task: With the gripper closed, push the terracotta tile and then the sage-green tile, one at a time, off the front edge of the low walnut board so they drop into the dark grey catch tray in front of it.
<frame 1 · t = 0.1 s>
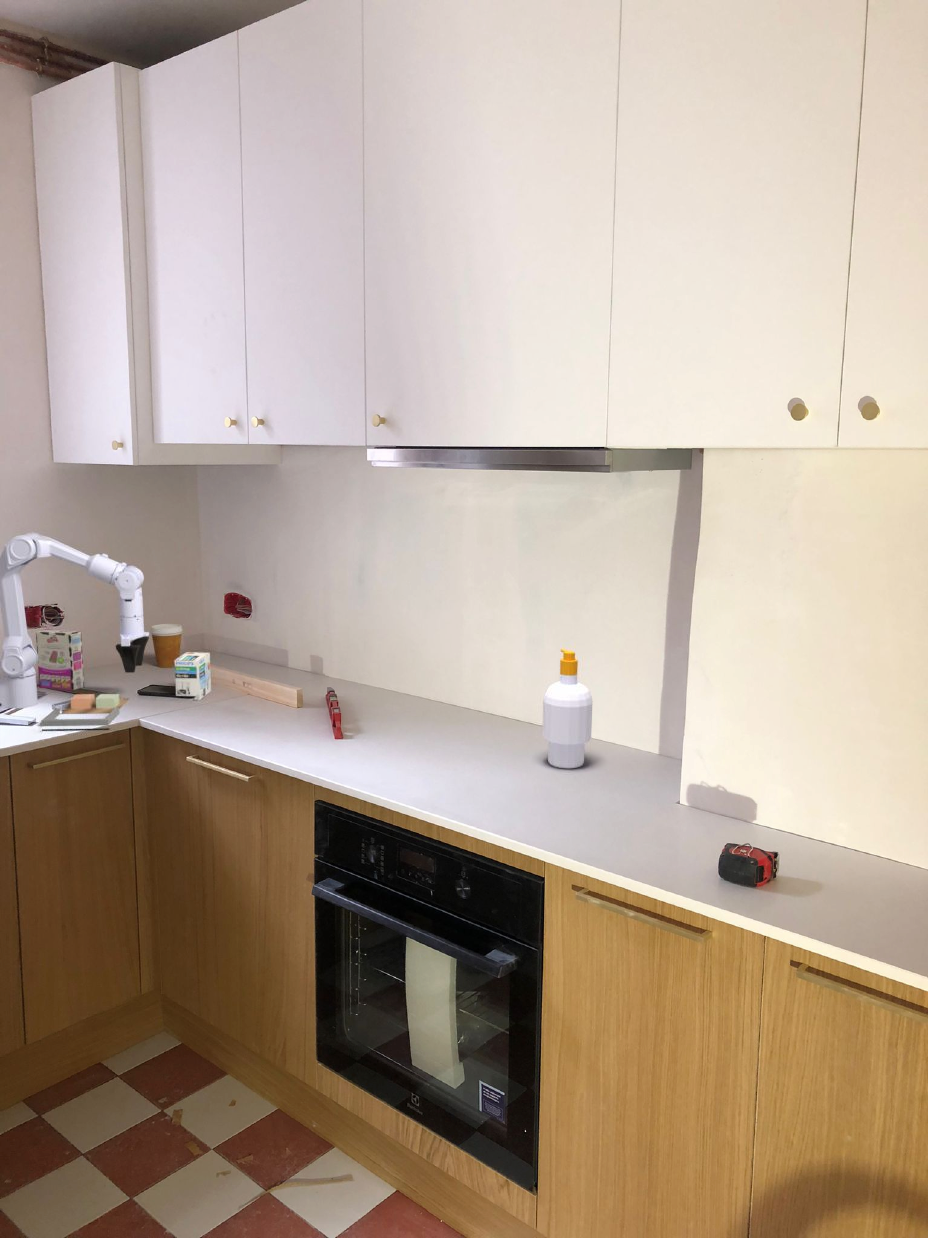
hand: (133, 668, 247), 10 cm above the worktop, tool pointing down, fingers open, 7 cm apart
disposable coffee cup: (168, 666, 296), on the worktop
sage-green tile: (107, 705, 245), point 1 cm above the worktop, touching walnut board
light bulb box: (193, 696, 261), on the worktop
walnut board: (96, 710, 245), on the worktop
candy bar box: (62, 691, 264), on the worktop
catch tray: (82, 723, 233), on the worktop
soap bottle: (565, 764, 208), on the worktop
terracotta tile: (83, 706, 244), point 1 cm above the worktop, touching walnut board
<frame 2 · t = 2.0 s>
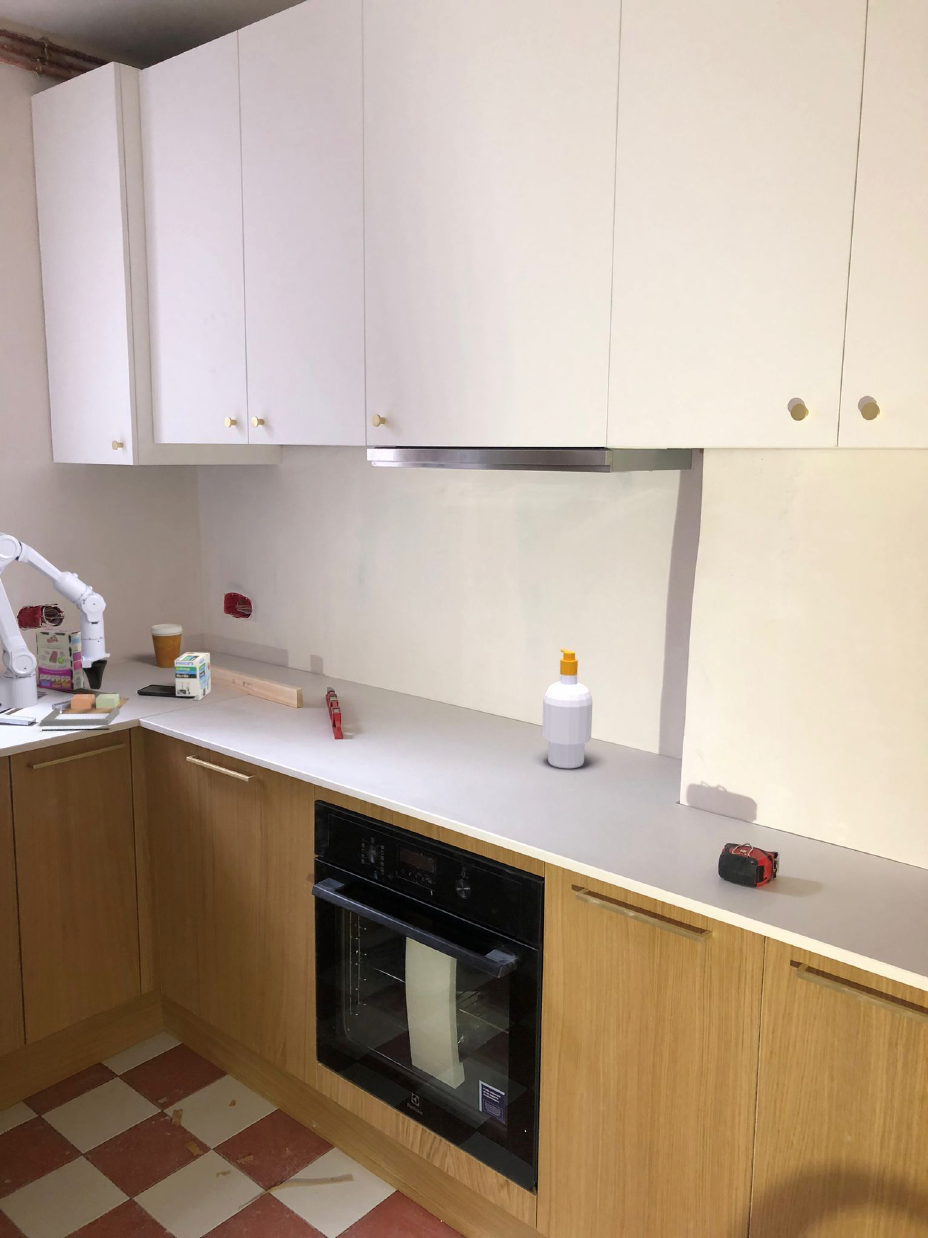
hand: (95, 688, 255), 3 cm above the worktop, tool pointing down, fingers closed
nothing on the worktop moved.
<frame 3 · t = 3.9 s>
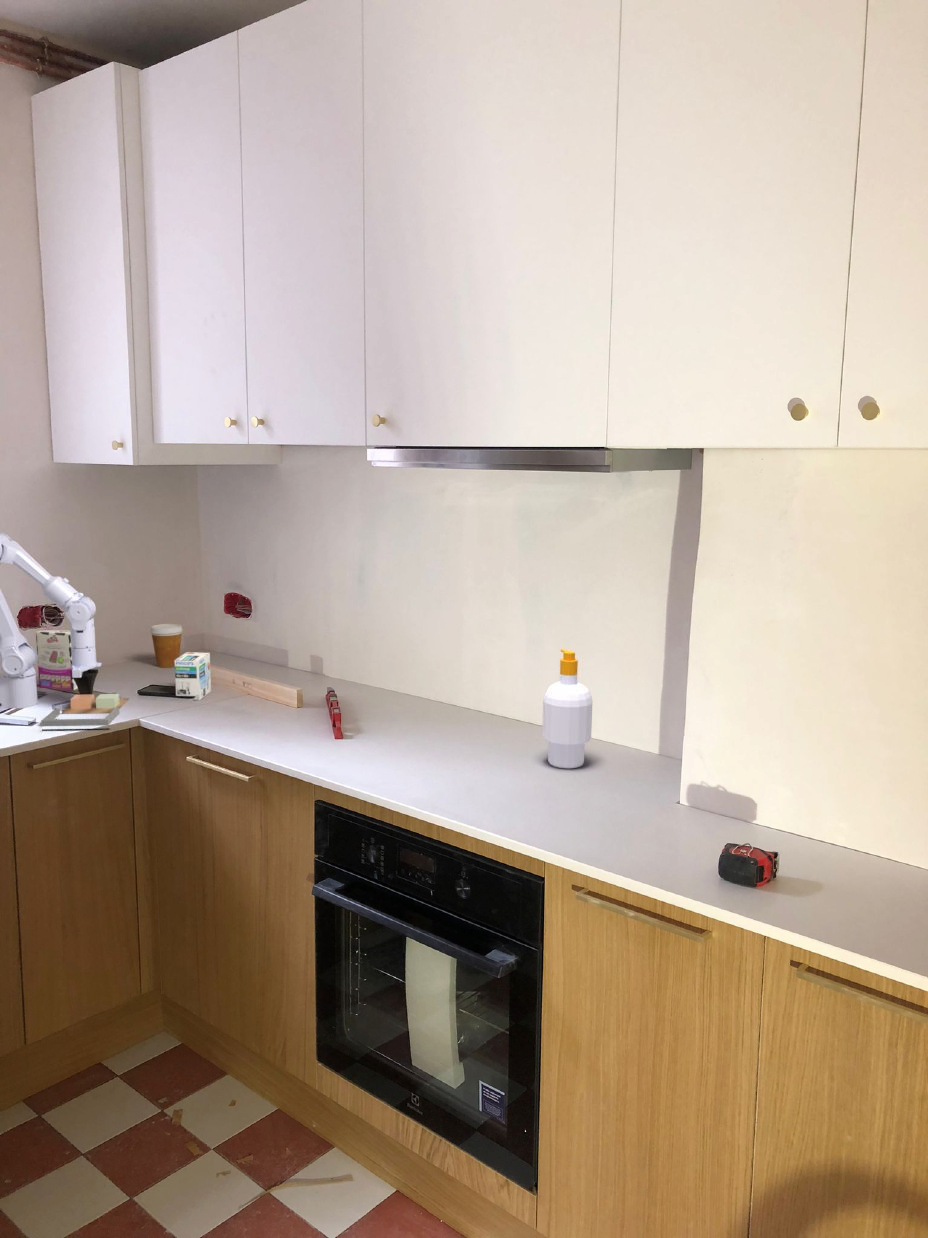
hand: (86, 699, 247), 2 cm above the worktop, tool pointing down, fingers closed
terracotta tile: (83, 706, 244), point 1 cm above the worktop, touching gripper, walnut board
everything else where it was.
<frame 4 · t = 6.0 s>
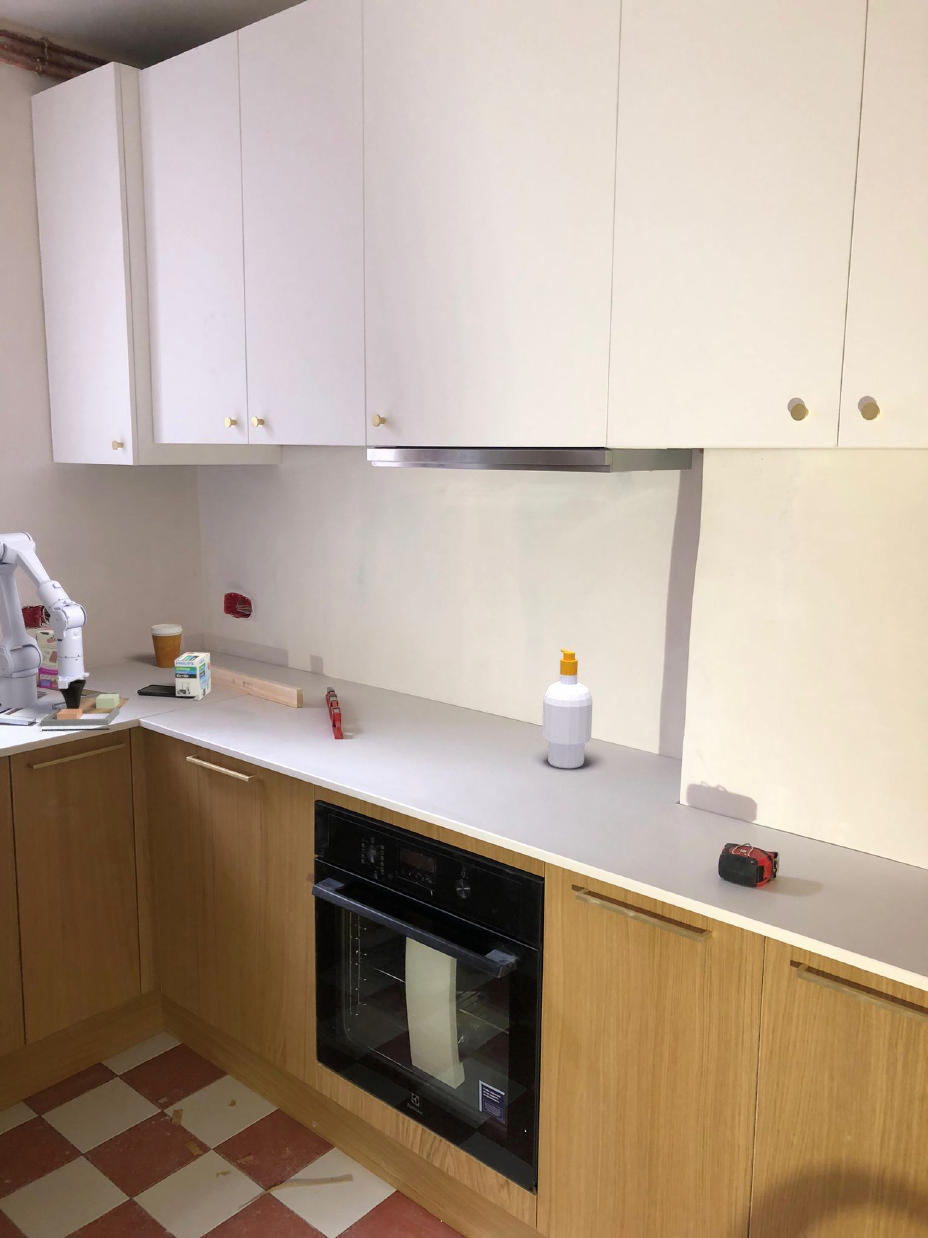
hand: (73, 710, 236), 2 cm above the worktop, tool pointing down, fingers closed
terracotta tile: (70, 721, 234), resting on catch tray, touching gripper
everything else where it was.
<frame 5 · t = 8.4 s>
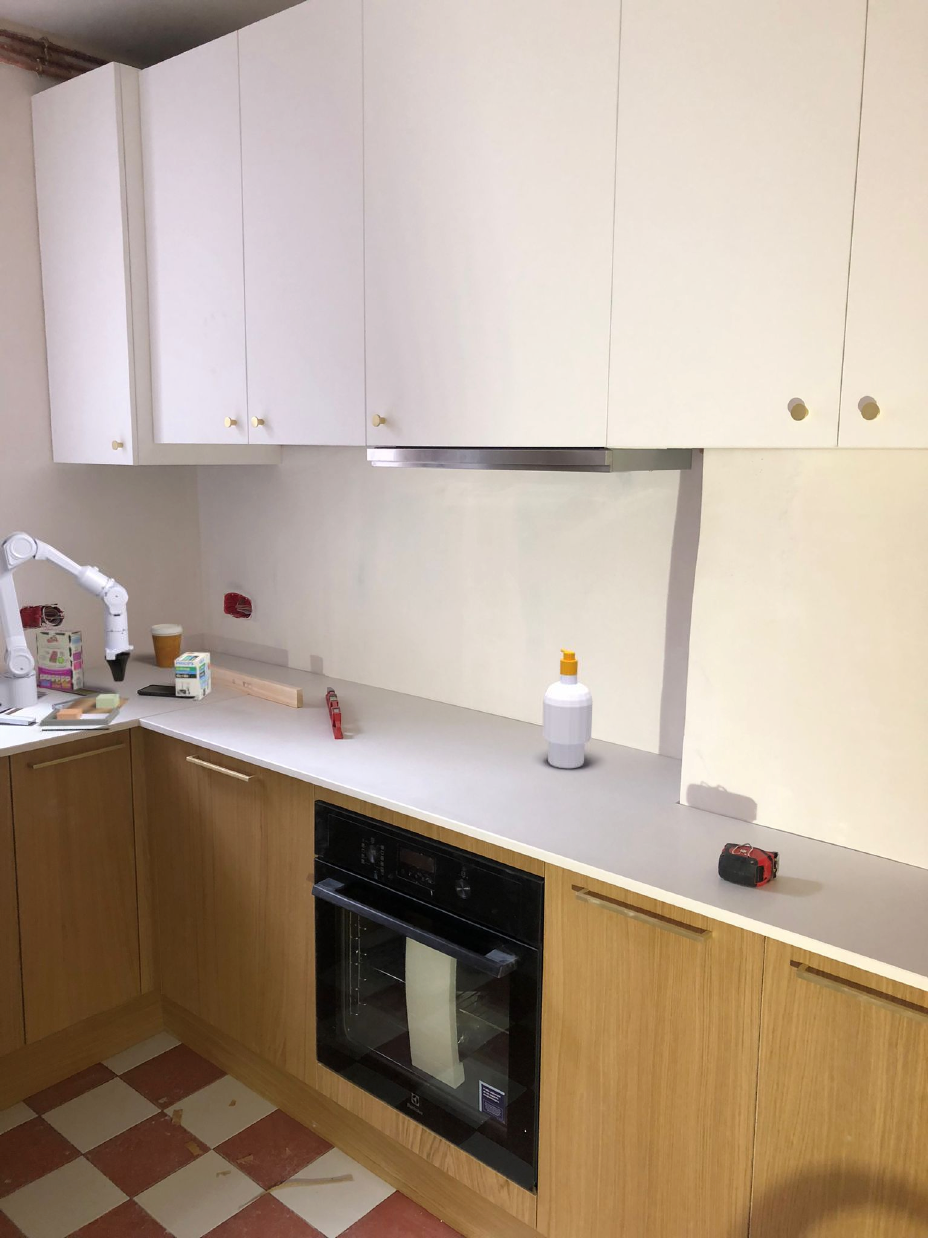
hand: (119, 681, 255), 5 cm above the worktop, tool pointing down, fingers closed
terracotta tile: (70, 721, 233), resting on catch tray
everything else where it was.
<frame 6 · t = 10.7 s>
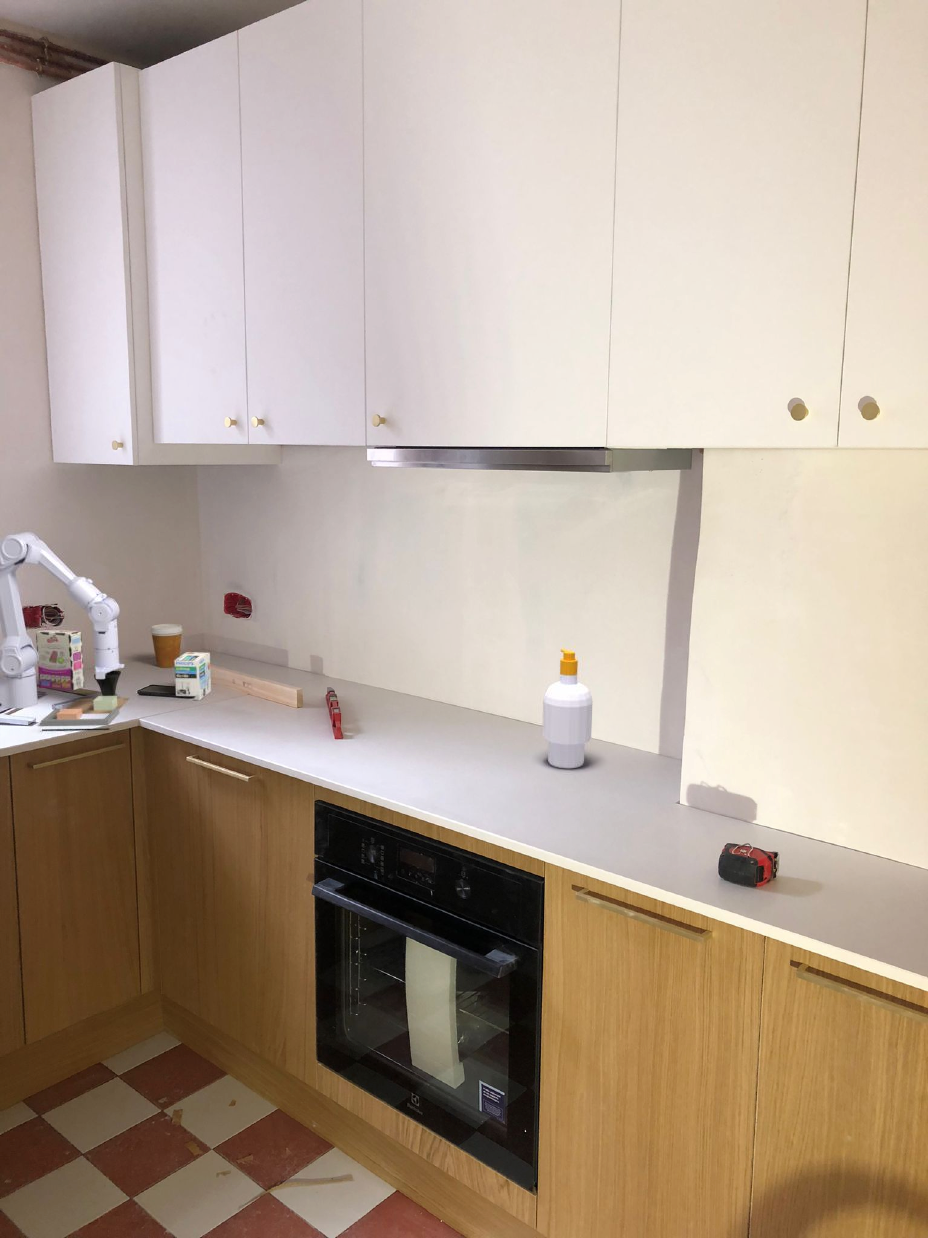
hand: (109, 700, 246), 2 cm above the worktop, tool pointing down, fingers closed
sage-green tile: (105, 708, 243), point 1 cm above the worktop, touching gripper
everything else where it was.
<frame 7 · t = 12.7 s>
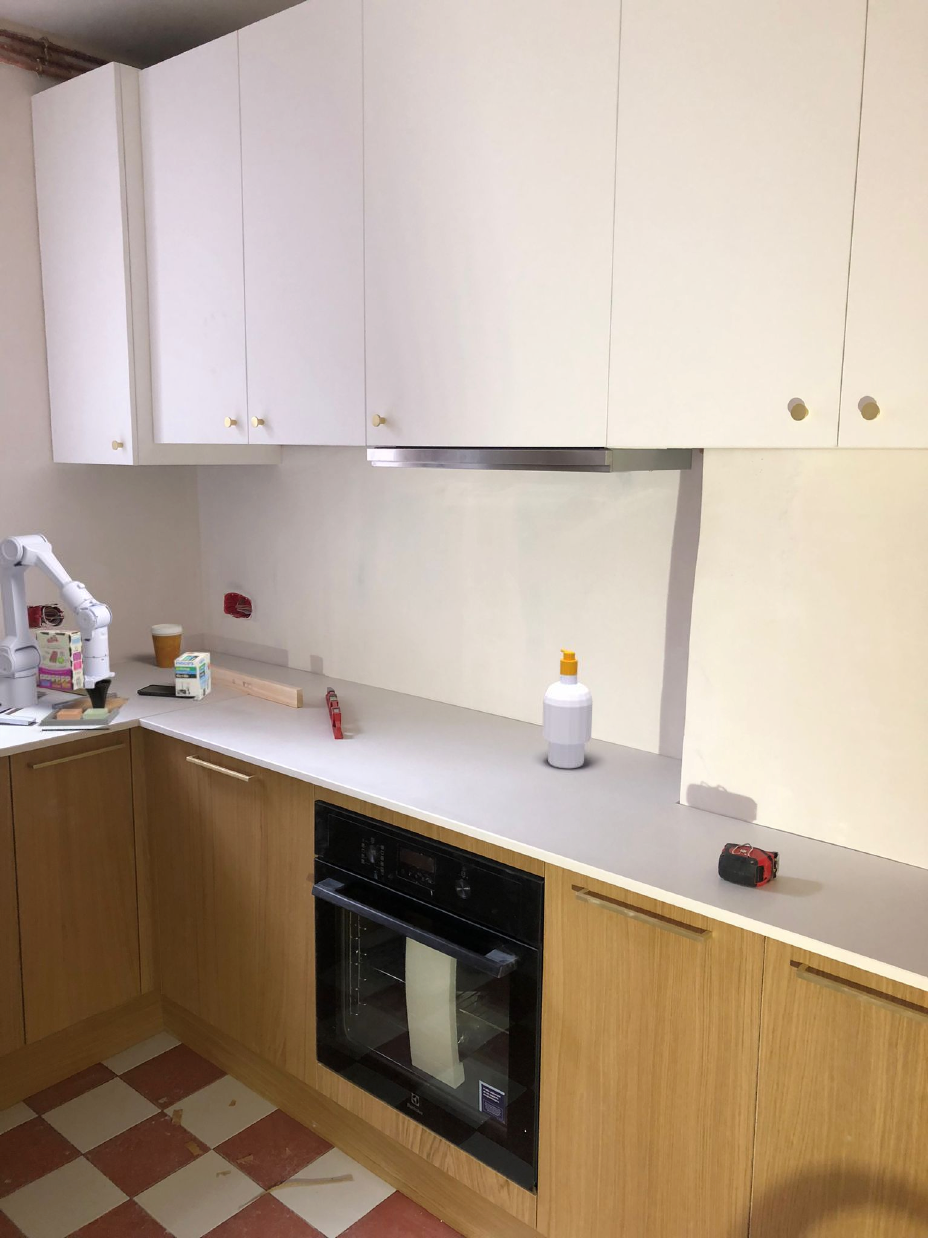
hand: (99, 710, 237), 2 cm above the worktop, tool pointing down, fingers closed
sage-green tile: (96, 721, 234), resting on catch tray, touching gripper
everything else where it was.
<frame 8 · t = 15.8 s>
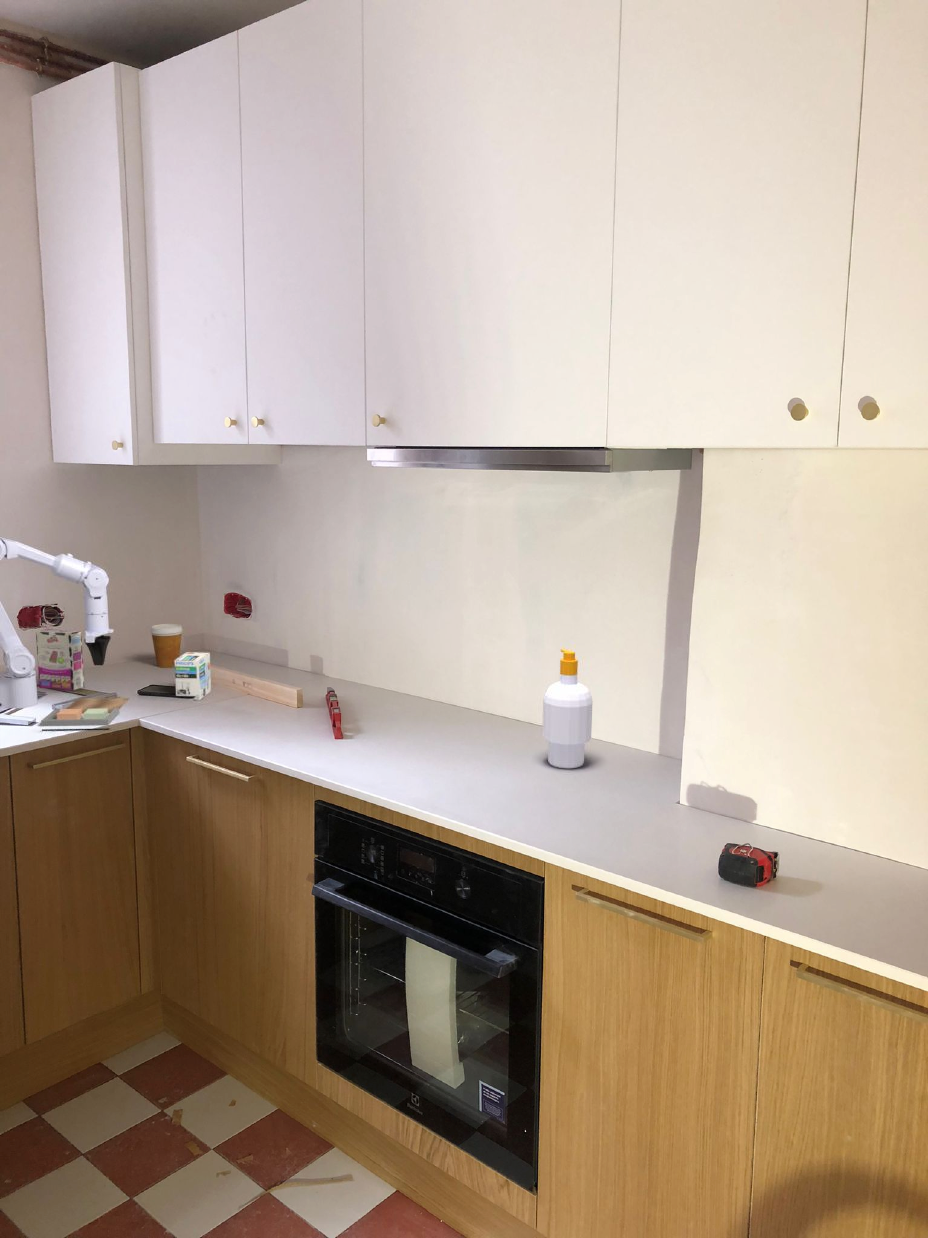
hand: (99, 664, 253), 9 cm above the worktop, tool pointing down, fingers closed
sage-green tile: (96, 721, 234), resting on catch tray
everything else where it was.
at the end: terracotta tile inside the target area on the catch tray (3.1 cm from its centre), point 0.4 cm above the catch tray's base; sage-green tile inside the target area on the catch tray (3.1 cm from its centre), point 0.4 cm above the catch tray's base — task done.
